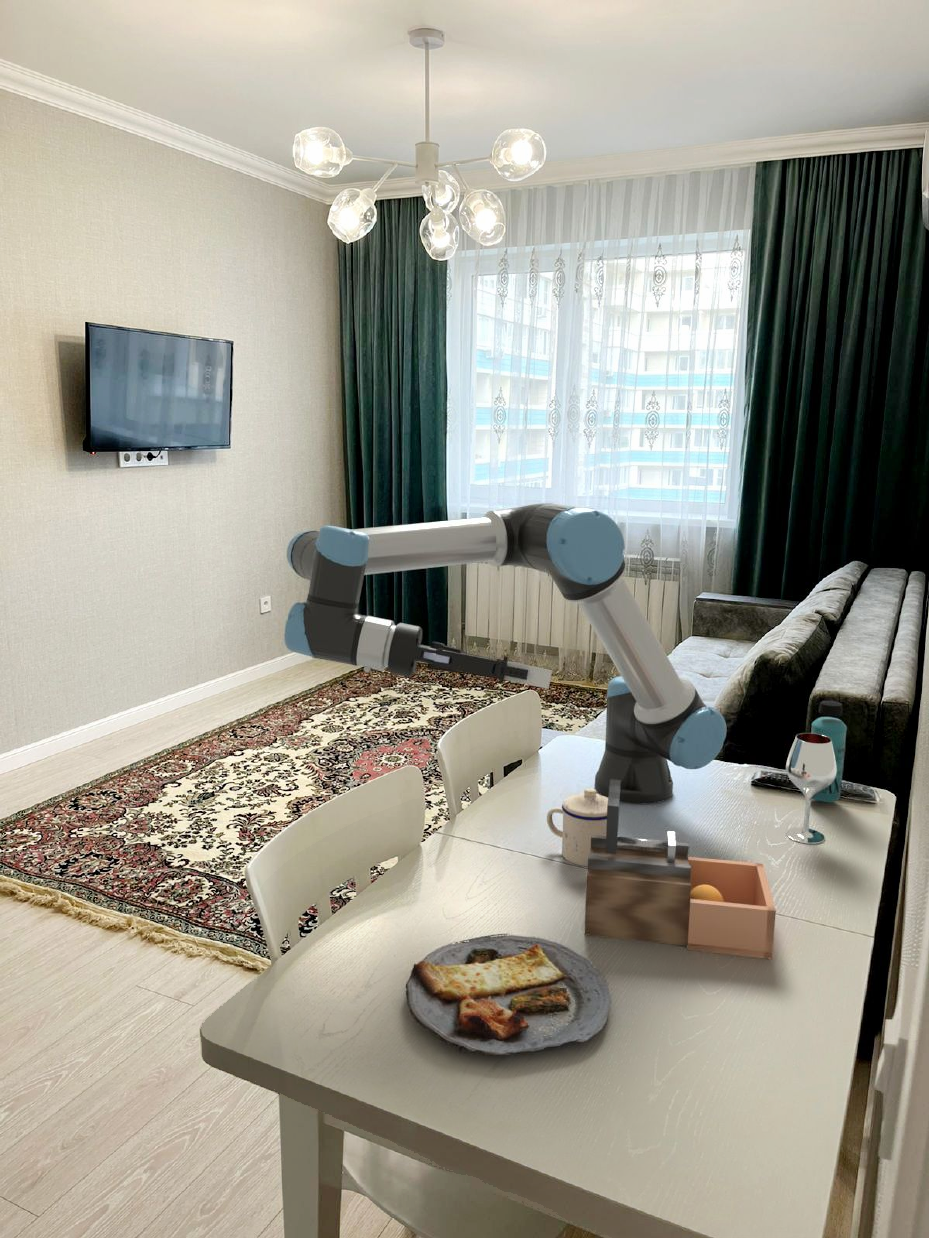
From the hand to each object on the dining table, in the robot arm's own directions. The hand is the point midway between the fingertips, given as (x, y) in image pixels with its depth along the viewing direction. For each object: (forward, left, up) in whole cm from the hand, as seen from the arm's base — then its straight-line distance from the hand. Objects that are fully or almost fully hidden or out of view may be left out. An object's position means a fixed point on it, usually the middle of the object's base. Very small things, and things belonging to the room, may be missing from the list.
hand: (549, 679), depth 133 cm
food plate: (+20, -19, -34) cm, 44 cm away
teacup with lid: (-9, +13, -34) cm, 37 cm away
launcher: (+12, +8, -34) cm, 37 cm away
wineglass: (+4, +52, -34) cm, 62 cm away
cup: (+20, +17, -34) cm, 43 cm away
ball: (+18, +15, -30) cm, 38 cm away
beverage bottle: (-5, +67, -34) cm, 75 cm away
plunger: (+12, +8, -24) cm, 28 cm away
